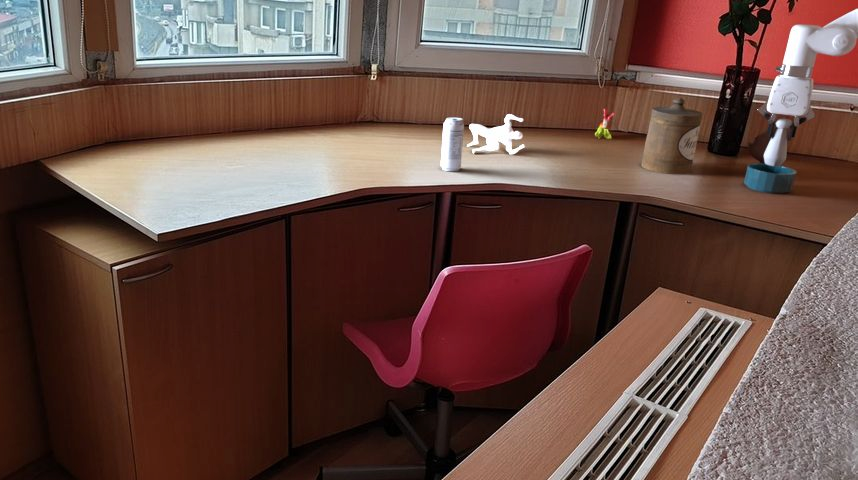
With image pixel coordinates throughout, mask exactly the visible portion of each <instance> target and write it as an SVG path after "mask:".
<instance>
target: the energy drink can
mask: <svg viewBox="0 0 858 480" xmlns="http://www.w3.org/2000/svg"><path fill="white" fill-rule="evenodd" d="M463 121H464V119H463V118H461V117H455V116H454V117H453V116H451V117H449V116H448V117H446V118H445V121H444V122H443V128H442V143H441V156H440V167H441V169H442V170H443V171H445V172H458V171H460V168H461V167H462V157H463V147H464V146H463V145H464V144H463V143H464V132H465V124H464V122H463Z"/></svg>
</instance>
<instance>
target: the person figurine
mask: <svg viewBox="0 0 858 480" xmlns="http://www.w3.org/2000/svg"><path fill="white" fill-rule="evenodd" d="M511 120H515V121H518V122H520V123H523V122H524V118H523V117H518V116H516V115H514V114H511V113H508V114H506V116H505V118H504V119H503V122H504V123H505V124H504V125H501V126H494V127H492V128H488V127H486V126H485V125H482V124H479V123H471V124H469V127H468V128H469V130H470V131H471V133H472V136H473V141H472V142H470V143H468V144H467V145H466V147H472V146H477V145H479V144H480V143H479V136H481V137H484V138H485V142H486V144H487V145H484V146H481V147H479V148H478V147H477V148H473V149H472V154H475V153H479V152H486V153H489V152H495V151H498V150H500V143H502V144H503V145H504V146H505V150H506V152H507V153H508V154H509V155H513V156H514V155H515V154H517V153H518V152H519V151H521V150H522V149H525V148H526V145H525V144H521V145H519V147H517V148H514V149H513V141H512V140H516V141H517V140H522V138H523V137H524V135H523V133H522V132H521V131H519V130H515V131H514V129H513V127H512V124H513V123H512V122H511Z"/></svg>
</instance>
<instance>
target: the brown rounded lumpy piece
mask: <svg viewBox="0 0 858 480" xmlns="http://www.w3.org/2000/svg"><path fill="white" fill-rule="evenodd" d="M775 129H776V127H775V126H774V130H773V133H774V131H775ZM772 135H773V134H772ZM770 140H771V138H769V135H768V134H767V130H765V131H764V132H762V133H760V134H758V135H757V136H755V137H754V139H753V140H751V141H749V142H748V143H747V150H748V152H749V154H750V156H751V157H752V158H753V159H755V160H756V161H758V163H764V164H765V161H764V153H765V151H766V148H767V146H768V144H769V142H770ZM788 148H789V146H787V150H788Z"/></svg>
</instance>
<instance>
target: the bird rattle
mask: <svg viewBox="0 0 858 480" xmlns="http://www.w3.org/2000/svg"><path fill="white" fill-rule="evenodd" d="M609 111H610V110H609V109H606V108H603V117H604V118H603V121H602V122H601V123H600V124H599V126H598V128H597V131H596V132H595V133H594V136H595V137H597V139H598V140H600V139H601V138H602V137H604V138H605V139H606V140H611V139H613V136H612V134H611V132H610V131H609V129H610V124H609V122H610V121H611V118H612V117H614V116H615V115H616V113H614V112H612V113H609Z"/></svg>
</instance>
